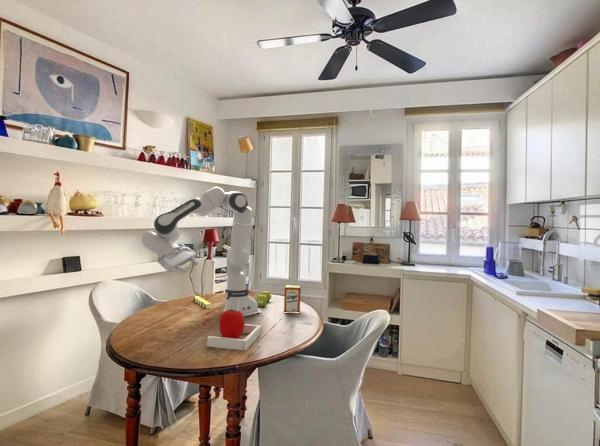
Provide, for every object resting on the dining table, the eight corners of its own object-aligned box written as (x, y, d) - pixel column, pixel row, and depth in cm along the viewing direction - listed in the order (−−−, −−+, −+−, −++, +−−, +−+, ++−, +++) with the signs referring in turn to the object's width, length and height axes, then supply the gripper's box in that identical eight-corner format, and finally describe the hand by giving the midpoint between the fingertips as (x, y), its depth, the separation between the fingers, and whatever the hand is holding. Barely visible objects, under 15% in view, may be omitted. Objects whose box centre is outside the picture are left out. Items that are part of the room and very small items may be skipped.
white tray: (207, 346, 143) (207, 337, 143) (227, 330, 164) (227, 322, 164) (245, 350, 140) (246, 341, 140) (261, 333, 161) (261, 325, 161)
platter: (213, 298, 233) (213, 293, 233) (233, 308, 208) (233, 303, 208) (166, 303, 214) (166, 298, 214) (181, 315, 189) (181, 309, 189)
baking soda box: (299, 310, 206) (300, 285, 206) (299, 313, 199) (300, 287, 199) (284, 310, 205) (285, 284, 205) (283, 313, 199) (284, 286, 199)
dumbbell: (266, 307, 211) (266, 296, 211) (254, 306, 212) (254, 295, 212) (271, 301, 228) (272, 291, 228) (260, 300, 229) (261, 290, 229)
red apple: (216, 336, 155) (217, 306, 155) (239, 333, 160) (240, 304, 160) (222, 346, 144) (223, 313, 144) (247, 342, 149) (248, 311, 149)
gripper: (157, 254, 155) (180, 270, 154) (184, 242, 174) (205, 256, 172) (153, 265, 158) (176, 280, 156) (180, 251, 177) (201, 265, 175)
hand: (191, 267), depth 164 cm, fingers open, 8 cm apart
